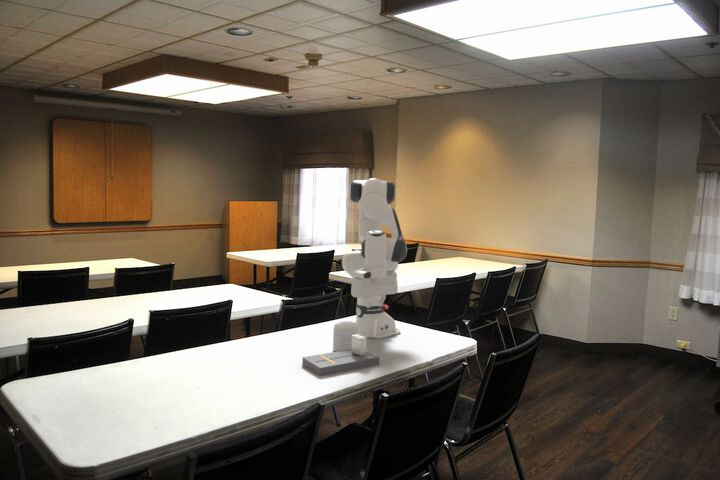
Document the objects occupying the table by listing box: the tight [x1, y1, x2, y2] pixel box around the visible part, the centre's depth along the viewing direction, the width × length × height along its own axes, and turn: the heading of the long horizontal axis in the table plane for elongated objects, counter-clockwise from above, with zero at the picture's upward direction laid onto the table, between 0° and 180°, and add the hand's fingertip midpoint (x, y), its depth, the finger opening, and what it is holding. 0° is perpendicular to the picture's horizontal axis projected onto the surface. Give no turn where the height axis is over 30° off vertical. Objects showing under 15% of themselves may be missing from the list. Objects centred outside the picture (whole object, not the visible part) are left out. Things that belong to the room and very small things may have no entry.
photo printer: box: [332, 320, 358, 352], centre depth 225 cm, size 10×4×12 cm, turn 98°
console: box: [301, 349, 381, 377], centre depth 207 cm, size 26×14×3 cm, turn 123°
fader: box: [351, 334, 368, 356], centre depth 211 cm, size 3×6×7 cm, turn 33°
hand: (374, 306), depth 213 cm, fingers open, 4 cm apart
